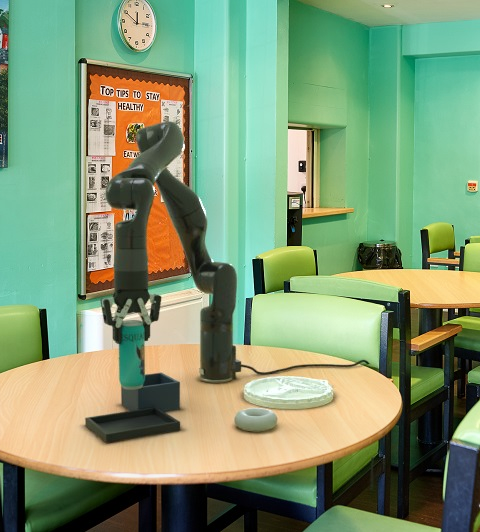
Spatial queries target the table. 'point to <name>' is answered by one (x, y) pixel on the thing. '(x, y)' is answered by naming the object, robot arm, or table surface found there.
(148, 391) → the caddy
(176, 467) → the table surface
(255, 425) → the donut
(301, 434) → the table surface
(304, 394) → the medallion
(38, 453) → the table surface
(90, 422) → the tray
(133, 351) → the beverage can
